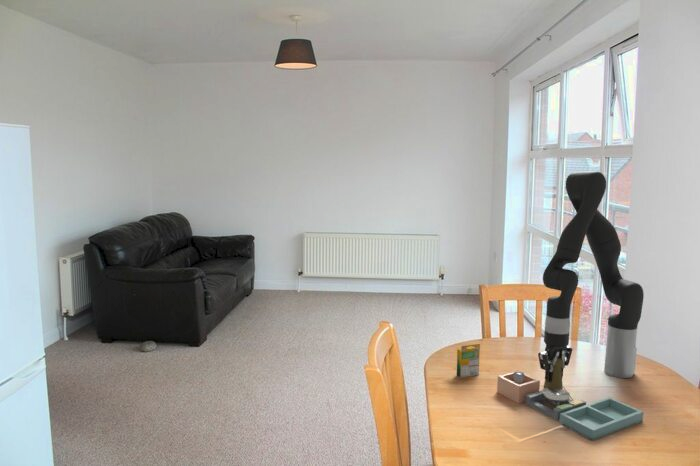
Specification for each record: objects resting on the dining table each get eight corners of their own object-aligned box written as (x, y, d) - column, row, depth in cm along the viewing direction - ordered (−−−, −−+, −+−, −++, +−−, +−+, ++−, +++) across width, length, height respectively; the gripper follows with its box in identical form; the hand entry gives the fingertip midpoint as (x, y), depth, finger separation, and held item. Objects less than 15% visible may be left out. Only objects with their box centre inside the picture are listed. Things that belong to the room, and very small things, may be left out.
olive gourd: (564, 394, 177) (566, 361, 176) (544, 392, 179) (546, 359, 177) (561, 386, 183) (563, 354, 182) (542, 384, 184) (544, 353, 183)
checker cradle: (552, 397, 175) (553, 386, 174) (585, 413, 165) (586, 401, 164) (525, 405, 169) (526, 394, 169) (557, 422, 159) (558, 410, 158)
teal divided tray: (608, 406, 169) (609, 396, 169) (642, 421, 160) (643, 411, 159) (559, 423, 158) (559, 413, 158) (592, 440, 149) (593, 430, 148)
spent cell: (517, 391, 178) (518, 370, 177) (525, 395, 175) (526, 374, 174) (510, 393, 176) (511, 372, 175) (517, 397, 173) (519, 376, 172)
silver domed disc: (553, 396, 172) (554, 385, 171) (574, 406, 165) (575, 394, 165) (536, 402, 168) (537, 390, 167) (557, 412, 162) (557, 400, 161)
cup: (517, 388, 182) (518, 370, 181) (538, 398, 174) (539, 380, 173) (496, 393, 177) (497, 375, 176) (518, 405, 170) (519, 386, 169)
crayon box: (474, 373, 194) (475, 341, 192) (479, 376, 191) (480, 343, 189) (456, 375, 192) (457, 343, 190) (460, 378, 189) (461, 346, 187)
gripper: (562, 322, 185) (559, 371, 187) (532, 329, 178) (529, 380, 180) (581, 329, 178) (578, 379, 181) (551, 336, 171) (547, 389, 174)
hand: (553, 379), depth 180 cm, fingers open, 4 cm apart
